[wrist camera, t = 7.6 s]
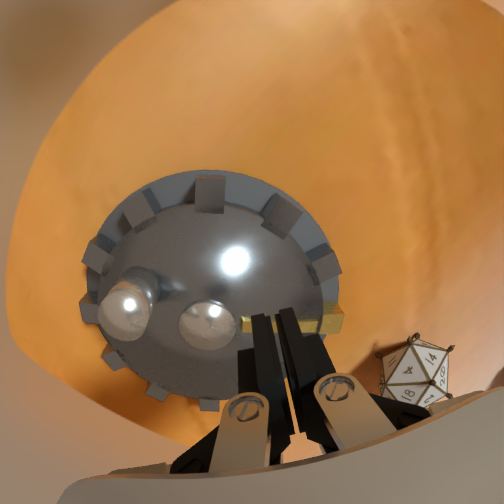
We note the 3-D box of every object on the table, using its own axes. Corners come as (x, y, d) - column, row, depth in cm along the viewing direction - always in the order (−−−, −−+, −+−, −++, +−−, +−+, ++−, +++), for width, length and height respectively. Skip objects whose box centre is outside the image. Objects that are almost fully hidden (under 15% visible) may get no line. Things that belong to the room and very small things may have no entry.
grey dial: (383, 270, 23) (424, 308, 17) (246, 418, 28) (250, 467, 22) (160, 120, 18) (129, 108, 12) (64, 331, 23) (34, 374, 17)
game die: (375, 324, 30) (406, 321, 20) (438, 338, 28) (484, 338, 18) (352, 400, 28) (373, 428, 18) (417, 411, 26) (455, 435, 17)
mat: (289, 404, 28) (289, 406, 28) (90, 365, 25) (90, 367, 24) (373, 214, 21) (375, 214, 21) (103, 145, 18) (101, 145, 18)
